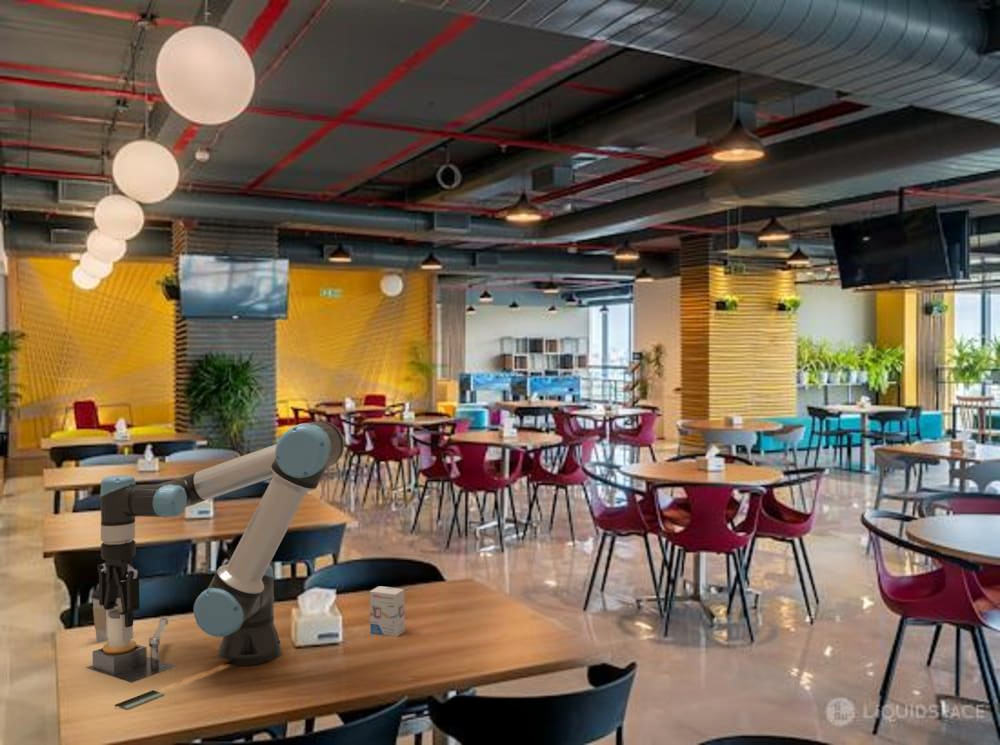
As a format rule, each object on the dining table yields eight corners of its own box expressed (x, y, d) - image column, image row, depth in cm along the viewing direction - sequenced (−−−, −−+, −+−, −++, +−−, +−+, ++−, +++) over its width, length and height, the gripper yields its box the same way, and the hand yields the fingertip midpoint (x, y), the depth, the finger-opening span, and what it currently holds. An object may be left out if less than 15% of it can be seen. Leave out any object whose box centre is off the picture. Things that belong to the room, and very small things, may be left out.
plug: (142, 663, 202) (141, 610, 202) (115, 673, 196) (114, 618, 196) (124, 658, 206) (123, 605, 206) (96, 667, 200) (96, 613, 200)
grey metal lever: (159, 646, 199) (159, 639, 199) (148, 647, 198) (148, 640, 198) (169, 623, 217) (169, 616, 216) (159, 623, 216) (159, 617, 216)
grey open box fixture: (177, 672, 200) (176, 644, 200) (131, 689, 190) (131, 660, 190) (131, 658, 210) (130, 632, 210) (85, 673, 200) (85, 646, 200)
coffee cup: (115, 648, 217) (114, 591, 217) (84, 646, 219) (83, 589, 219) (137, 637, 226) (136, 582, 226) (107, 635, 228) (106, 580, 228)
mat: (164, 695, 186) (164, 693, 186) (127, 709, 179) (127, 707, 179) (139, 687, 191) (139, 685, 191) (102, 701, 184) (102, 699, 184)
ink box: (369, 633, 228) (368, 590, 228) (378, 628, 233) (378, 585, 233) (396, 637, 225) (396, 593, 225) (405, 631, 230) (405, 588, 230)
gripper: (155, 542, 199) (156, 639, 199) (110, 534, 208) (111, 627, 209) (127, 548, 193) (128, 649, 193) (81, 539, 202) (82, 635, 202)
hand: (119, 637), depth 201 cm, fingers closed on plug, 5 cm apart
